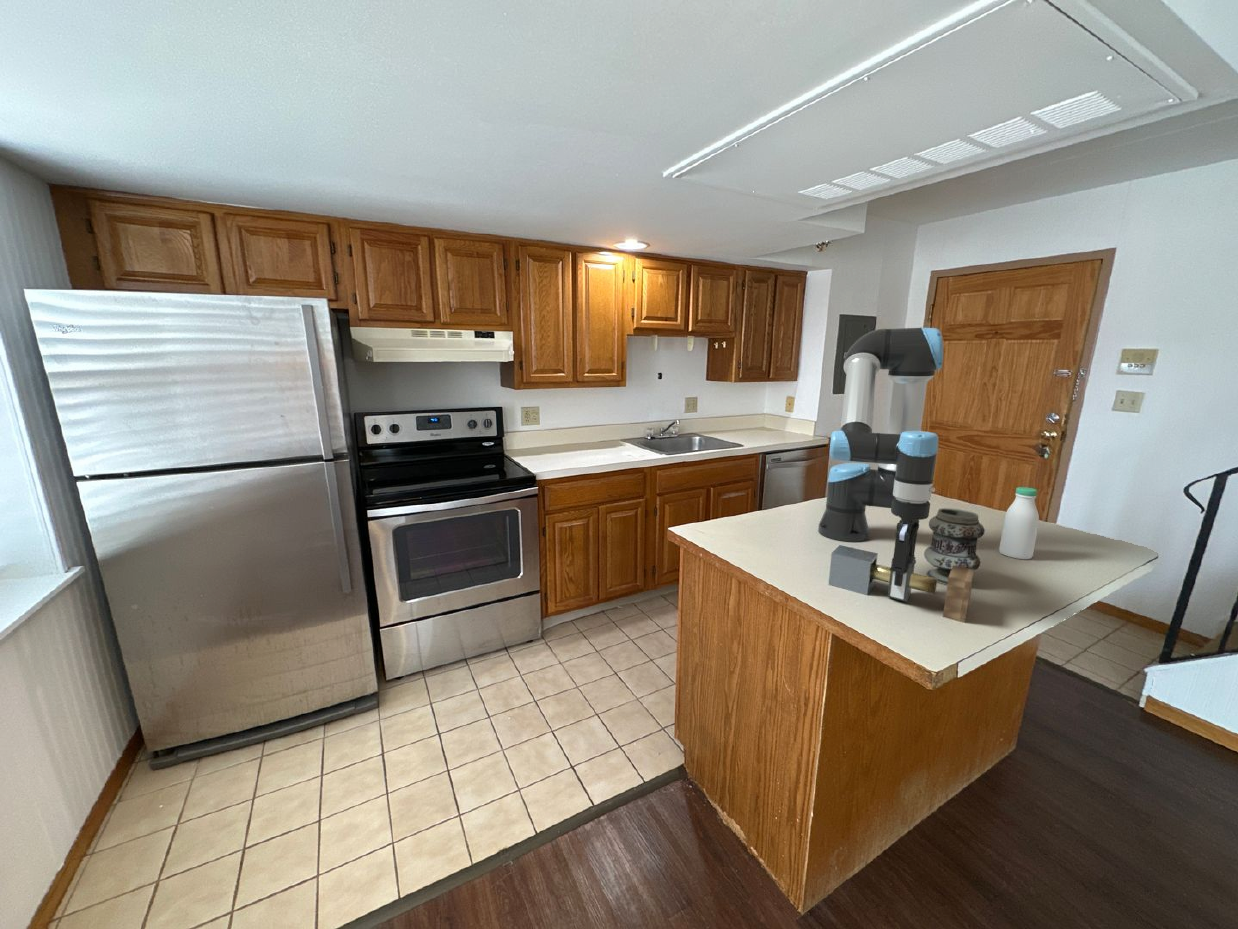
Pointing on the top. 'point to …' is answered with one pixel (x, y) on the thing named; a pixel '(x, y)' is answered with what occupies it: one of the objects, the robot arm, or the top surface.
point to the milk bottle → (1020, 525)
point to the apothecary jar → (953, 542)
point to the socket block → (958, 593)
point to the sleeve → (852, 569)
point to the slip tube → (911, 580)
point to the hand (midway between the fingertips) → (899, 592)
